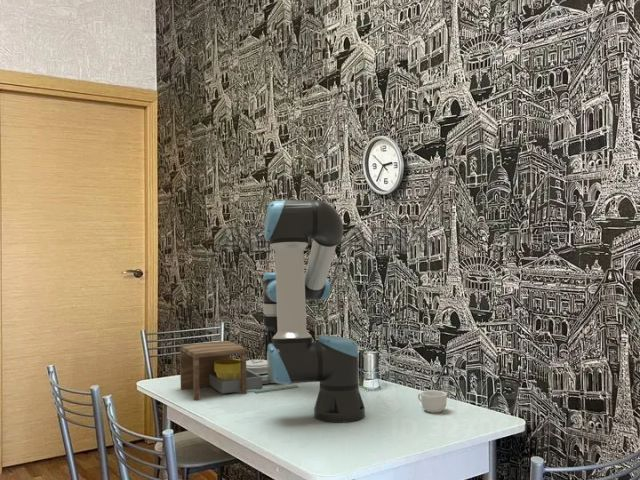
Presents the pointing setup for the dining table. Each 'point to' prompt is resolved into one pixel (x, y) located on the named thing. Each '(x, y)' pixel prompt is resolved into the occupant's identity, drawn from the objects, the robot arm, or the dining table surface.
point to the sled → (235, 385)
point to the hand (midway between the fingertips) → (274, 378)
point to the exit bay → (275, 387)
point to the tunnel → (207, 363)
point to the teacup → (433, 400)
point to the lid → (257, 366)
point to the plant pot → (228, 369)
